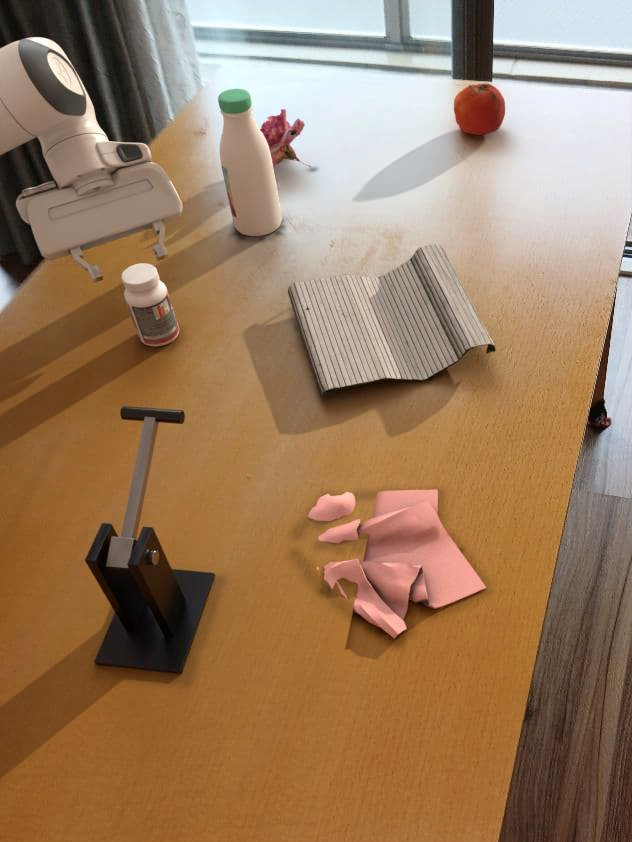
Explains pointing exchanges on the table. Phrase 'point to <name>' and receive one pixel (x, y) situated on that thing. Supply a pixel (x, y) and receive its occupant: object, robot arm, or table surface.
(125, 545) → the lever
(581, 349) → the table surface
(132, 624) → the bracket
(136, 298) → the pill bottle
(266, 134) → the flower
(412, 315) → the mat
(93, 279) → the robot arm
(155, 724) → the table surface
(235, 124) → the milk bottle
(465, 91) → the red round fruit
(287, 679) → the table surface
